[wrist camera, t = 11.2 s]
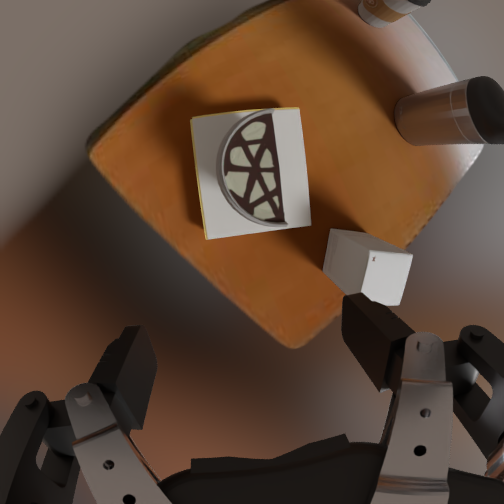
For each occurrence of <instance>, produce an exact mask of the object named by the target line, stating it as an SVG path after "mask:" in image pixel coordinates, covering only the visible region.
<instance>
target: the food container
mask: <svg viewBox="0 0 504 504" xmlns="http://www.w3.org/2000/svg"><path fill="white" fill-rule="evenodd" d="M274 110H275V109H273V108H269V109H263V110H259V111H256V112H253V113H251V114H249V115H247V116H245V117H243V118H242V119H240V120H239V121H238V122H236V123H235V124H234V125H233V126H232V127H231V128H230V129H229V130H228V132H227V133H226V135H225V136H224V138H223V140H222V142H221V144H220V146H219V149H218V153H217V158H216V176H217V180H218V185H219V187H220V190H221V192H222V194H223V196H224V197H225V199H226V201H227V202H228V203H229V205H230V206H231V207H232V208H233V209H234V210H235V211H236V212H237V213H239V214H240V215H241V216H243V217H244V218H246V219H247V220H249V221H252V222H254V223H256V224H259V225H263V226H269V227H287V225H288V223H287V222H286V221H285V214H284V208H283V199H282V189H281V178H280V167H279V160H278V154H277V146H276V139H275V131H274V124H273V117H272V114H273V112H274Z"/></svg>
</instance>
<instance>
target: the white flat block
mask: <svg viewBox="0 0 504 504" xmlns="http://www.w3.org/2000/svg"><path fill="white" fill-rule="evenodd" d="M273 109H275V110H274V112H273V114H272V117H273V124H274V131H275V139H276V146H277V154H278V160H279V167H280V178H281V189H282V199H283V208H284V214H285V221H286V222H287V223H288V225H287V227H269V226H263V225H259V224H256V223H254V222H252V221H249V220H247V219H246V218H244V217H243V216H241V215H240V214H239V213H237V212H236V211H235V210H234V209H233V208H232V207H231V206H230V205H229V203H228V202H227V201H226V199H225V197H224V196H223V194H222V192H221V190H220V187H219V185H218V180H217V176H216V158H217V153H218V149H219V146H220V144H221V142H222V140H223V138H224V136H225V135H226V133H227V132H228V130H229V129H230V128H231V127H232V126H233V125H234V124H235V123H236V122H238V121H239V120H240V119H242V118H243V117H245V116H247V115H249V114H251V113H253V112H256V111H259V110H263V109H256V110H244V111H234V112H225V113H216V114H209V115H202V116H196V117H192V119H190V125H191V134H192V143H193V152H194V160H195V168H196V176H197V183H198V190H199V198H200V205H201V212H202V218H203V225H204V231H205V238H206V239H215V238H222V237H229V236H236V235H243V234H250V233H258V232H265V231H273V230H280V229H288V228H296V227H304V226H311V214H310V202H309V190H308V179H307V169H306V159H305V150H304V142H303V133H302V126H301V118H300V111H299V107H298V108H273Z"/></svg>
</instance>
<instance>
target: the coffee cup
mask: <svg viewBox="0 0 504 504" xmlns="http://www.w3.org/2000/svg"><path fill="white" fill-rule="evenodd" d="M430 1H431V0H362V1H361V3H360V4H359V5H358V13H359V15H360V16H361V18H362V19H363V20H364V21H365V22H366V23H368V24H369V25H371V26H374V27H385V26H387V25H388V24H390V23H392V22H394V21H396V20H398V19H400V18H402V17H403V16H405V15H407V14H409V13H411V11H414V10H415V9H417V8H419V7H421V6H426V5H427V4H428V3H430Z"/></svg>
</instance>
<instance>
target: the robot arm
mask: <svg viewBox="0 0 504 504" xmlns="http://www.w3.org/2000/svg"><path fill="white" fill-rule="evenodd" d="M394 116H395V122H396V126H397V128H398V130H399V132H400V134H401V135H402V137H403V138H404V139H405V140H406V141H407V142H409V143H410V144H412V145H415V146H424V145H446V144H504V91H503V89H502V88H501V87H500V85H499V84H498V83H497V82H496V81H495V80H493V79H491V78H490V77H486V76H481V77H476V78H472V79H467V80H463V81H459V82H455V83H451V84H448V85H444V86H440V87H437V88H433V89H430V90H426V91H423V92H420V93H416V94H413V95H410V96H407V97H404V98H401V99H400V100H399V101H398V102H397V104H396V107H395V112H394ZM341 331H342V336H343V340H344V342H345V343H346V345H347V346H348V348H349V349H350V351H351V352H352V353H353V355H354V356H355V358H356V359H357V361H358V362H359V363H360V365H361V366H362V368H363V369H364V371H365V372H366V374H367V375H368V377H369V378H370V379H371V381H372V382H373V384H374V385H375V387H376V388H377V390H378V391H379V392H380V393H381V392H384V391H386V390H389V389H391V390H392V392H393V394H392V397H391V401H390V405H389V410H388V413H387V417H386V421H385V425H384V429H383V432H382V436H381V439H380V441H379V444H377V443H371V442H370V443H369V442H349V441H348V439H347V437H346V435H345V434H342V435H339V436H335V437H331V438H328V439H325V440H321V441H317V442H313V443H309V444H307V445H305V446H302V447H300V448H298V449H296V450H293V451H291V452H288V453H286V454H284V455H282V456H279V457H276V458H273V459H249V458H238V457H217V458H198V459H191V469H187V470H184V471H181V472H178V473H175V474H173V475H171V476H169V477H167V478H165V479H163V480H161V479H160V478H159V477H158V475H157V474H156V473H155V472H154V470H153V469H152V468H151V466H150V465H149V464H148V462H147V461H146V459H145V458H144V456H143V455H142V454H141V452H140V450H139V449H138V447H137V446H136V445H135V443H134V442H133V440H132V438H131V437H130V436H129V435H130V431H131V429H137V430H142V429H143V424H144V420H145V416H146V411H147V407H148V403H149V399H150V395H151V391H152V387H153V384H154V379H155V376H156V372H157V359H156V355H155V353H154V350H153V347H152V344H151V341H150V338H149V336H148V332H147V330H146V328H145V326H144V325H137V326H126V327H125V328H124V330H123V332H122V334H121V335H120V337H119V339H115V340H114V341H113V342H112V343H111V344H109V345H108V346H107V348H106V350H105V352H104V354H103V356H102V357H101V359H100V362H99V363H98V364H97V366H96V368H95V370H94V372H93V374H92V376H91V377H90V379H89V381H88V383H83V384H79V385H77V386H75V387H73V388H72V389H71V390H70V391H69V392H68V393H67V395H66V397H65V400H60V401H53V402H50V401H49V400H48V399H47V397H46V395H45V394H44V393H43V392H41V391H32V392H29V393H27V394H26V395H24V396H23V397H22V398H21V399H20V401H19V402H18V404H17V406H16V407H15V409H14V411H13V413H12V414H11V416H10V418H9V420H8V422H7V424H6V426H5V427H4V429H3V431H2V433H1V435H0V504H72V503H73V498H74V493H75V488H76V484H77V479H78V475H79V471H80V467H81V470H82V472H83V475H84V477H85V479H86V481H87V484H88V486H89V488H90V490H91V492H92V494H93V496H94V498H95V500H96V502H97V504H504V343H503V342H502V341H500V340H499V339H498V338H497V337H496V336H494V335H493V334H492V333H491V332H489V331H488V330H487V329H485V328H483V327H481V326H476V325H469V326H466V327H464V328H463V329H462V330H461V332H460V335H459V338H458V340H453V341H446V342H443V341H442V340H441V339H440V338H439V337H438V336H436V335H435V334H432V333H428V332H417V333H416V332H415V331H413V330H412V329H411V328H410V327H409V326H408V325H407V324H406V323H404V322H403V321H402V320H401V319H400V318H398V316H397V315H395V314H394V313H392V311H391V310H390V309H389V308H388V307H386V306H385V305H383V304H381V303H379V302H376V301H371V300H370V299H369V298H368V297H367V296H366V295H365V294H364V293H362V292H359V293H355V294H350V295H345V296H344V297H343V302H342V326H341ZM479 373H480V374H481V375H482V376H483V377H484V378H485V379H486V380H487V381H488V382H489V383H490V385H491V386H492V389H493V395H492V398H491V399H490V398H489V397H488V396H487V394H486V393H485V392H484V391H483V390H482V389H481V388H480V387H479V386H478V384H477V383H476V382H475V381H476V379H477V377H478V375H479ZM453 412H454V414H455V415H456V416H457V417H458V419H459V420H460V422H461V423H462V424H463V426H464V427H465V429H466V430H467V431H468V433H469V434H470V436H471V437H472V439H473V440H474V441H475V443H476V444H477V446H478V447H479V449H480V450H481V452H482V453H483V455H484V456H485V458H486V459H487V464H486V467H487V470H486V472H485V474H484V476H481V475H476V474H472V473H468V472H464V471H459V470H456V469H453V468H449V460H450V451H451V440H452V422H453ZM41 442H43V443H44V444H45V445H46V446H47V447H48V451H47V453H46V456H45V459H44V462H43V465H42V468H41V470H40V469H39V468H38V466H37V464H36V455H37V452H38V450H39V447H40V445H41Z"/></svg>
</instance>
